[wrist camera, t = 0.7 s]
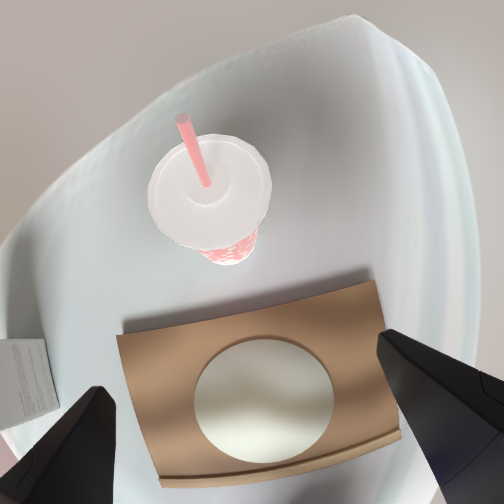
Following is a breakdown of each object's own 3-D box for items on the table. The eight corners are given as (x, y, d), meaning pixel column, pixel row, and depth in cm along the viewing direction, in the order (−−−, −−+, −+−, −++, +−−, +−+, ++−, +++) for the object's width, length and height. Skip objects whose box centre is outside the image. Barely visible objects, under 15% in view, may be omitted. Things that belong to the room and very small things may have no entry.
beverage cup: (246, 288, 21) (226, 240, 7) (175, 255, 21) (68, 172, 8) (279, 216, 22) (305, 83, 8) (209, 189, 23) (160, 53, 9)
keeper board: (394, 434, 18) (401, 440, 16) (167, 481, 17) (163, 489, 16) (368, 281, 21) (375, 279, 19) (122, 334, 20) (114, 335, 19)
